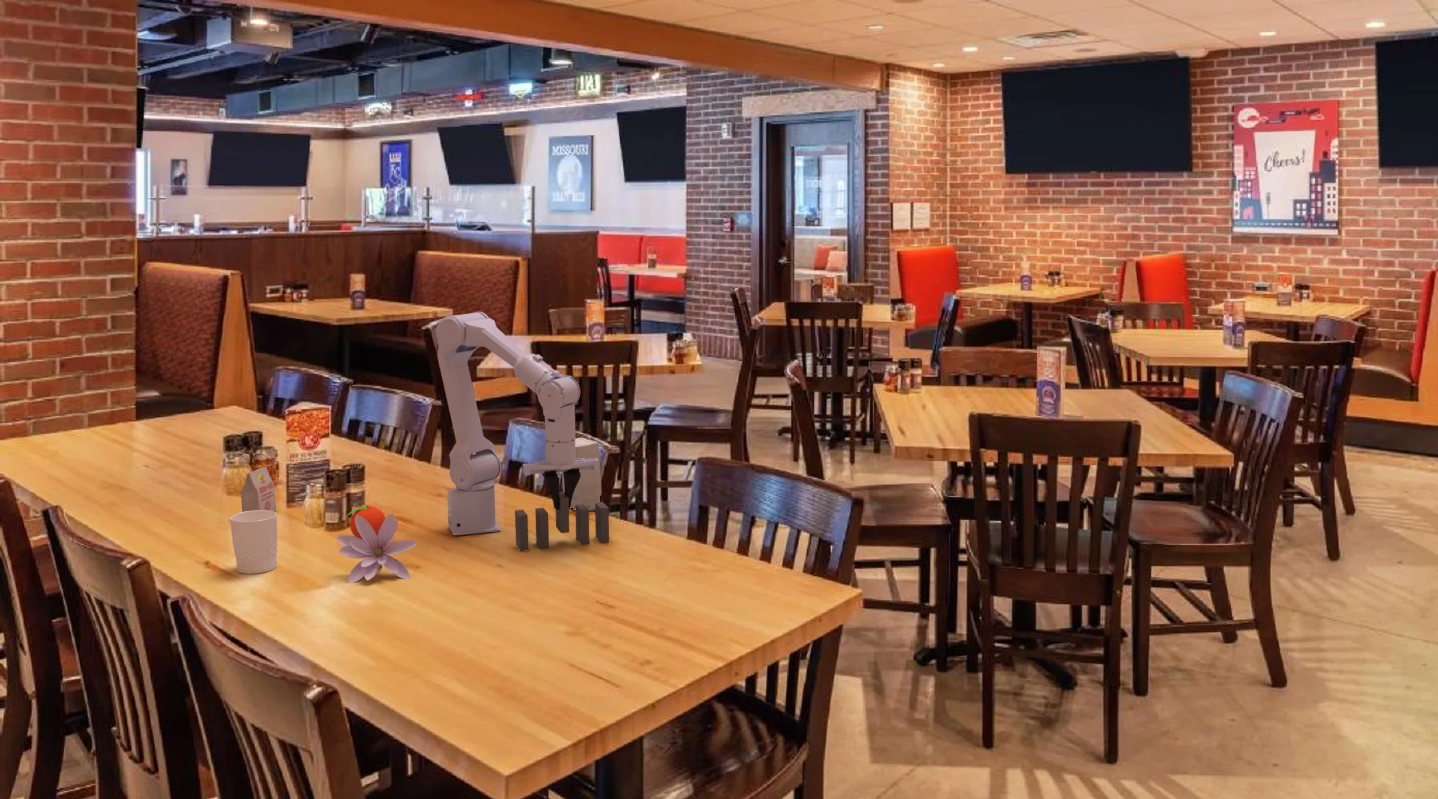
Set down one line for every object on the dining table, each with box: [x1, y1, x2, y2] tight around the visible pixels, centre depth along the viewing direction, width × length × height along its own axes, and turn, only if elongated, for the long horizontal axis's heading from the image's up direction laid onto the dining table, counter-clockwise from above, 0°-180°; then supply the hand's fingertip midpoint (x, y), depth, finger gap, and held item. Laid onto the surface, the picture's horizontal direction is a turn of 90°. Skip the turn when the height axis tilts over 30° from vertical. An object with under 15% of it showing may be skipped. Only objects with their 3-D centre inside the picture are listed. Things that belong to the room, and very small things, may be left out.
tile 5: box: [594, 501, 610, 544], centre depth 232 cm, size 2×4×7 cm, turn 20°
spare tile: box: [555, 491, 570, 534], centre depth 229 cm, size 2×4×7 cm, turn 21°
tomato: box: [344, 505, 386, 540], centre depth 231 cm, size 8×7×7 cm
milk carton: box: [240, 466, 277, 513], centre depth 249 cm, size 4×7×10 cm, turn 170°
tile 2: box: [534, 507, 550, 550], centre depth 228 cm, size 2×4×7 cm, turn 20°
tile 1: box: [514, 509, 530, 552], centre depth 227 cm, size 2×4×7 cm, turn 20°
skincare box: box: [561, 437, 603, 512], centre depth 256 cm, size 8×6×15 cm
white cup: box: [229, 510, 278, 575], centre depth 214 cm, size 8×8×10 cm
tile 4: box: [575, 504, 590, 546], centre depth 231 cm, size 2×4×7 cm, turn 20°
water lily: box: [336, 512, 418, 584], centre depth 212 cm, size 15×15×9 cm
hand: (562, 507), depth 229 cm, fingers closed on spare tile, 1 cm apart
